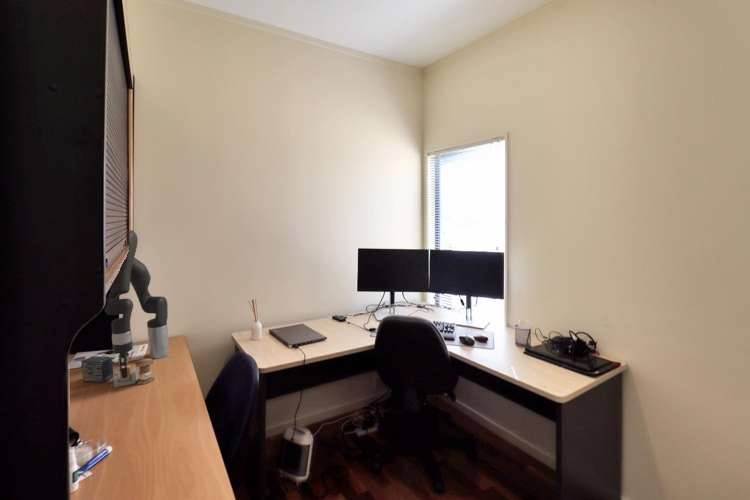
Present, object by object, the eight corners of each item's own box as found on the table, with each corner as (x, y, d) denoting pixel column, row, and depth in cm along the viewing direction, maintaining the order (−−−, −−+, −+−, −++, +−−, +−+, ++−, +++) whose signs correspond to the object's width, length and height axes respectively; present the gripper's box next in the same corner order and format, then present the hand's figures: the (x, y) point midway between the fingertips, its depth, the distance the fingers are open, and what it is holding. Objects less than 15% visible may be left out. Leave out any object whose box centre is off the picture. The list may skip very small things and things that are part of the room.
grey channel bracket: (115, 380, 170) (114, 371, 169) (136, 375, 174) (136, 367, 174) (114, 387, 163) (113, 378, 163) (136, 382, 167) (135, 373, 167)
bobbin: (137, 379, 171) (135, 360, 169) (154, 375, 174) (153, 357, 173) (136, 385, 165) (135, 366, 163) (154, 381, 168) (153, 362, 167)
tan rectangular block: (120, 378, 169) (119, 366, 168) (131, 376, 171) (130, 364, 170) (120, 381, 166) (119, 369, 165) (130, 379, 168) (129, 367, 168)
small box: (114, 376, 173) (112, 356, 172) (103, 383, 167) (101, 362, 165) (94, 375, 174) (92, 355, 173) (82, 382, 168) (80, 361, 166)
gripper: (113, 337, 170) (116, 369, 172) (110, 347, 158) (114, 382, 160) (132, 334, 174) (135, 366, 176) (131, 344, 162) (134, 378, 164)
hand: (125, 373), depth 168 cm, fingers open, 8 cm apart
